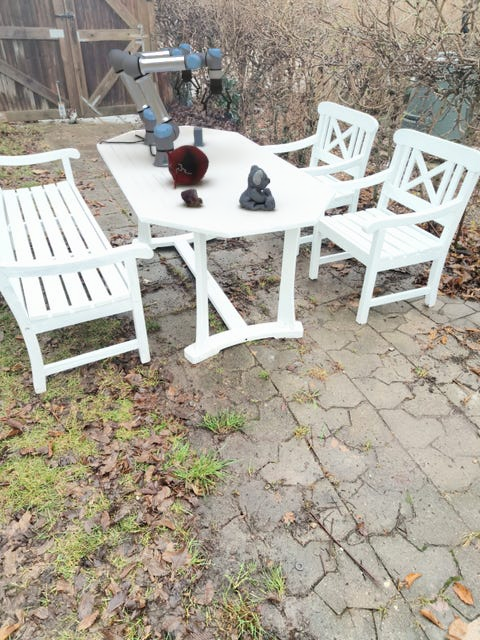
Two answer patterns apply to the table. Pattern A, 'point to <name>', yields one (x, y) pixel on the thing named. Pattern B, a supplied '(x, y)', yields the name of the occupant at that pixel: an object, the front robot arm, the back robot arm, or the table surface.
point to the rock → (191, 197)
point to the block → (198, 136)
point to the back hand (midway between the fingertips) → (188, 99)
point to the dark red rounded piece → (187, 164)
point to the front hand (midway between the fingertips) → (217, 115)
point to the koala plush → (257, 191)
